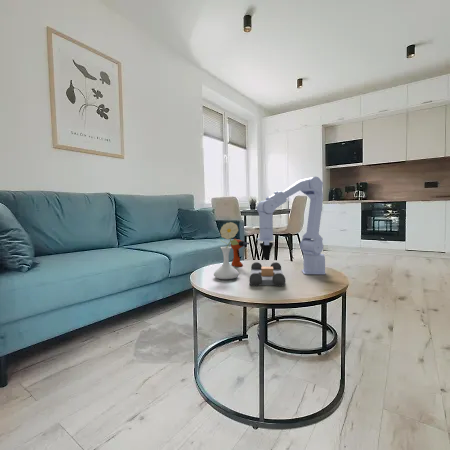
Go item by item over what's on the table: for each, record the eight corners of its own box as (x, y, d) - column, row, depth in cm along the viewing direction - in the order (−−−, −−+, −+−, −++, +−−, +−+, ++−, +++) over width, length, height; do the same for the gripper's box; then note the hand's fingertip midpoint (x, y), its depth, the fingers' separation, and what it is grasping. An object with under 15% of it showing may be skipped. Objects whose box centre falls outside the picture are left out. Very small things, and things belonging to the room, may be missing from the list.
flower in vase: (208, 278, 122) (206, 222, 121) (225, 273, 131) (224, 221, 129) (230, 283, 114) (229, 222, 112) (247, 278, 122) (246, 221, 121)
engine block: (273, 277, 122) (272, 266, 122) (273, 280, 118) (273, 268, 117) (261, 277, 123) (261, 266, 122) (261, 280, 118) (261, 268, 118)
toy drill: (246, 268, 135) (243, 237, 136) (230, 266, 152) (228, 239, 153) (254, 267, 137) (252, 237, 138) (238, 265, 154) (235, 238, 155)
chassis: (281, 272, 131) (280, 262, 131) (285, 286, 107) (285, 273, 107) (251, 272, 133) (251, 262, 132) (249, 286, 109) (249, 273, 109)
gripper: (256, 227, 127) (257, 256, 127) (256, 229, 112) (257, 262, 113) (272, 227, 126) (272, 256, 126) (274, 229, 111) (274, 262, 112)
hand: (266, 259), depth 120 cm, fingers closed
